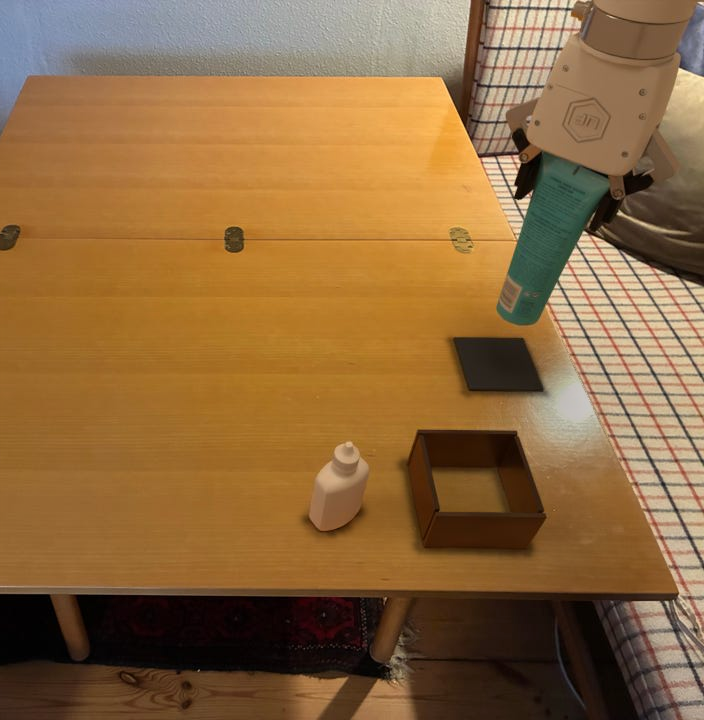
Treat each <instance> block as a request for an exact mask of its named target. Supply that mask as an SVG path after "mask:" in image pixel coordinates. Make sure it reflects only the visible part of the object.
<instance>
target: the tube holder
mask: <svg viewBox="0 0 704 720" xmlns="http://www.w3.org/2000/svg"><path fill="white" fill-rule="evenodd" d="M518 434H519V433H518V430H516V429H515V430H512V429H511V430H506V429H505V430H503V429H501V430H500V429H495V430H494V429H421V428H420V429H416V433H415V436H414V439H413V441H412V445H411V449H410V452H409V455H408V457H407V460H406V465H407V467H408V468H407V469H408V474H409V480H410V485H411V490H412V496H413V500H414V505H415V510H416V515H417V519H418V525H419V531H420V534H421V539H422V544H423V548H447V549H448V548H449V549H451V548H452V549H517V550H518V549H520V550H521V549H523V550H525V549H526V550H527V549H528V548H529V547H530V545H531V544H532V542H533V540H534V539H535V537H536V535H537V534H538V532H539V531H540V529H541V528H542V526H543V524H544V523H545V521H546V519H547V518H548V517H547V513H546V512H545V507H544V505H543V502H542V499H541V496H540V493H539V491H538V487H537V485H536V482H535V479H534V476H533V473H532V471H531V468H530V465H529V462H528V459H527V456H526V453H525V450H524V447H523V445H522V441H521V438H520V436H519V435H518ZM431 467H444V468H445V467H449V468H450V467H455V468H457V467H459V468H465V467H466V468H498V473H499V476H500V479H501V483H502V486H503V489H504V493H505V496H506V499H507V502H508V506H509V509H510V512H502V511H501V512H496V511H495V512H494V511H493V512H491V511H489V512H488V511H441V507H440V503H439V497H438V494H437V489H436V484H435V481H434V476H433V472H432V468H431Z"/></svg>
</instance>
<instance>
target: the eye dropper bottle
mask: <svg viewBox="0 0 704 720" xmlns="http://www.w3.org/2000/svg"><path fill="white" fill-rule="evenodd" d="M370 471H371V469H370V466H369V464H368V463H367V461H366V460H365V459H364V458H363V457H362V456H361V453H360V450H359V449H358V447H357V446H356V445H354V444H353V442H352V441H349V440H348V441H346V442H344V443H341V444H340V443H339V444H338V445H337V446H336V447H335V448H334V451H333V455H332V459H331V460H330V461H329V462H327V463H326V464H325V465H323V467H322V468H321V469H320V470H319V472H318V473H317V475H316V477H315V479H314V483H313V489H312V495H311V500H310V501H311V502H310V506H309V514H308V517H309V520H310V521H311V522H312V524H313V525H314V526H315V528H317V530H318V531H321V532H327V531H328V532H329V531H333V530H336V529H338V528H341V527H343V526H345V525H347V524H348V523H349V522H351V521H352V520H353V519H354V517H356V515H357V514H358V513H359V512H360V509H361V507H362V504H363V500H364V497H365V493H366V488H367V485H368V480H369V476H370Z"/></svg>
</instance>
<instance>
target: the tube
mask: <svg viewBox="0 0 704 720" xmlns="http://www.w3.org/2000/svg"><path fill="white" fill-rule="evenodd" d="M609 190H610V184H609V178H607V177H605V176H603V175H601V174H599V173H596V172H594V171H592V170H591V169H590V170H589V169H588V168H586V167H584V166H581V165H579V164H576V163H574V162H571V161H568V160H566V159H563V158H560V157H558V156H555V155H552V154H550V153H547V152H545V151H542V157H541V161H540V166H539V170H538V174H537V178H536V181H535V185H534V188H533V190H532V191H531V196H530V198H529V201H528V202H529V203H528V207H527V210H526V213H525V216H524V218H523V222H522V225H521V229H520V232H519V235H518V238H517V241H516V244H515V249H514V251H513V254H512V257H511V260H510V263H509V266H508V269H507V272H506V275H505V278H504V282H503V285H502V288H501V290H500V294H499V297H498V299H497V304H496V306H495V307H496V312H497V314H498V315H499V316H500V318H501V319H502V320H504V321H505V322H508V323H509V324H512V325H516V326H520V327H527V326H533V325H535V324H536V323H538V322H539V320H540V318H541V316H542V315H543V313H544V310H545V308H546V306H547V304H548V302H549V299H550V298H551V295H552V294H553V291H554V289H555V287H556V285H557V283H558V282H559V279H560V278H561V275H562V274H563V272H564V269H565V268H566V265H567V263H568V262H569V260H570V257H571V256H572V254H573V252H574V250H575V248H576V246H577V244H578V243H579V241H580V239H581V237H582V235H583V233H584V232H585V230H586V228H587V226H588V225H589V222H591V220H592V218H593V216H594V215H595V212H596V210H597V208H598V206H599V204H600V201H601V199H602V197H603V196H604V195H605V194H606V193H607V192H608V191H609Z"/></svg>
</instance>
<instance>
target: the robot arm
mask: <svg viewBox="0 0 704 720" xmlns="http://www.w3.org/2000/svg"><path fill="white" fill-rule="evenodd" d="M698 3H704V0H586V1H582V0H577V1H575V3H574V4H573V7H572V8H571V10H570V17H571V18H575V19H577V21H578V22H580V28H579V30H578V32H576V33H574V34H572V35H570V36H569V38H568V39H567V41H566V42H565V44H564V46H563V47H562V49H561V51H560V53H559V55H558V57H557V59H556V60H555V63H554V65H553V66H552V69H551V71H550V73H549V75H548V78H547V79H546V82H545V84H544V86H543V88H542V90H541V93H540V95H539V97H536V98H533V99H530V100H528V101H525V102H522V103H520V104H517V105H514V106H512V107H511V108H509V109H508V110H507V111H505V120H506V123H507V124H508V128H509V130H510V131H511V133H512V134H511V140H512V141H513V144H514V147H516V150H517V152H518V161H519V162H520V166H519V168H518V171H517V174H516V177H515V179H514V183H513V186H514V187H516V189H515V193H514V195H513V199H514V200H516V201H522V200H523V199H525V197H526V196H528V195H529V194H530V193H532V192H533V188H534V185H535V181H536V178H537V174H538V170H539V166H540V161H541V157H542V154H543V151H545V152H547V153H550V154H552V155H555V156H558V157H560V158H563V159H566V160H568V161H570V162H572V163H575V164H577V165H579V166H581V167H583V168H586V169H590V170H593V171H596V172H599V173H601V174H604V175H607V176H608V179H609V184H610V189H609V190H608V192H607V193H606V194H605V195H604V196H603V197H602V199H601V201H600V204H599V205H598V207H597V209H596V210H595V212H594V214H593V216H592V218H591V220H590V224H589V226H588V229H589V231H590V232H593V233H596V232H597V231H599V230H600V228H601V227H602V226H603V225H604V224H607V225H610V224H611V223H612V222H614V220H615V218H616V217H617V215H618V213H619V210H620V209H621V207H622V205H623V202H624V201H625V199H626V197H627V196H631V195H633V194H637V193H639V192H642V191H645V190H647V189H649V188H650V187H652V186H654V185H657V184H660V183H662V182H663V181H666V180H668V179H670V178H672V177H674V176H675V175H676V174H677V173H678V172H679V170H680V169H681V163H680V162H679V160H678V159H677V157H676V156H675V155H674V153H673V151H672V149H671V148H670V146H669V145H668V143H667V142H666V140H665V139H664V137H663V135H662V134H661V132H660V130H659V129H660V126H661V124H662V121H663V118H664V116H665V113H666V111H667V108H668V105H669V102H670V99H671V97H672V94H673V92H674V88H675V83H676V81H677V77H678V74H679V69H680V64H681V59H682V56H681V54H680V53H679V52H677V49H678V46H680V43H681V40H682V38H683V36H684V34H685V32H686V30H687V27H688V26H689V23H690V21H691V19H692V16H693V14H694V12H695V11H696V8H697V6H698ZM528 117H530V120H529V123H528V121H527V118H528ZM646 155H648V157H649V159H650V161H651V162H652V164H653V166H654V167H653V168H651V169H649V170H646V171H643V172H640V173H636V168H635V166H636V165H637V164H638V162H639V161H640V160H642V159H644V157H646Z"/></svg>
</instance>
